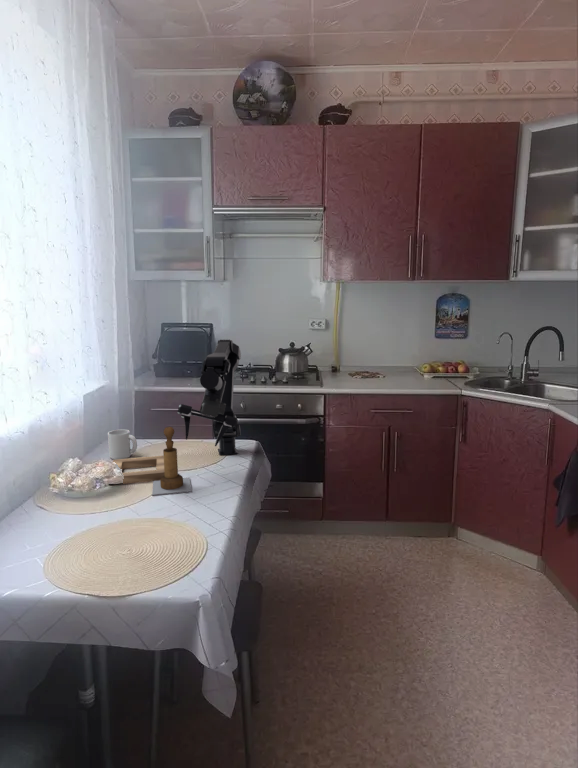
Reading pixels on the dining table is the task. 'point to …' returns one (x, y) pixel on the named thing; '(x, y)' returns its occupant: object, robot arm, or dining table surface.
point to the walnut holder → (138, 463)
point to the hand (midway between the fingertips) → (200, 442)
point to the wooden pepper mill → (170, 464)
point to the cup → (121, 444)
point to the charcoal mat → (160, 491)
